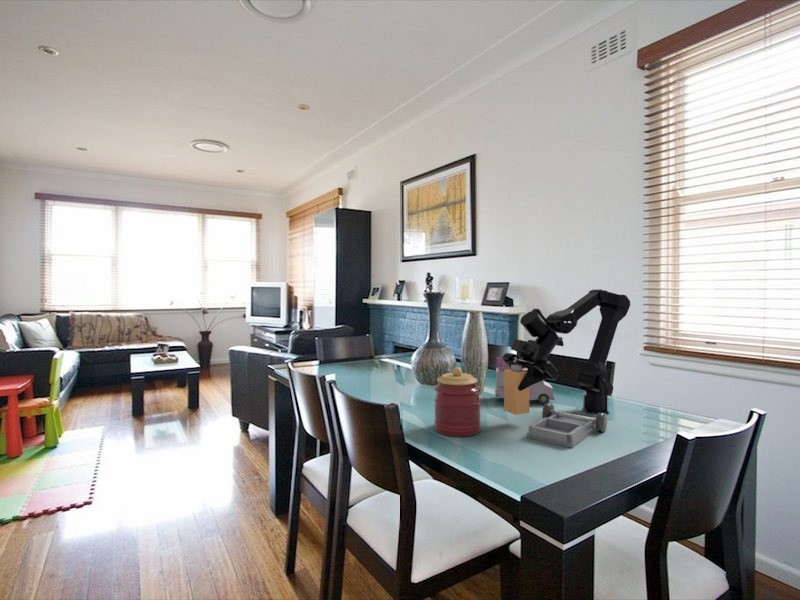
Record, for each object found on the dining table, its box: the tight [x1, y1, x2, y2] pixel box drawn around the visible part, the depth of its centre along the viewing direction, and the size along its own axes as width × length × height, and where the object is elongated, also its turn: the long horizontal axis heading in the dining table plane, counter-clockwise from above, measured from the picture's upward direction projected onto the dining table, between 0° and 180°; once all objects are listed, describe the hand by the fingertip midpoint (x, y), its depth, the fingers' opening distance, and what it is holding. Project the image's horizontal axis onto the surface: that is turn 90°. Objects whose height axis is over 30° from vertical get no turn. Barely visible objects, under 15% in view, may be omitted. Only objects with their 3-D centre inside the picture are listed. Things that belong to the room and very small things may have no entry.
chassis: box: [526, 402, 608, 449], centre depth 118 cm, size 22×17×5 cm
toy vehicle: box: [494, 357, 555, 405], centre depth 151 cm, size 9×20×15 cm, turn 78°
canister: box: [433, 366, 482, 438], centre depth 120 cm, size 13×13×18 cm
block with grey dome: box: [503, 365, 530, 416], centre depth 125 cm, size 5×5×14 cm
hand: (512, 387), depth 124 cm, fingers closed on block with grey dome, 5 cm apart
